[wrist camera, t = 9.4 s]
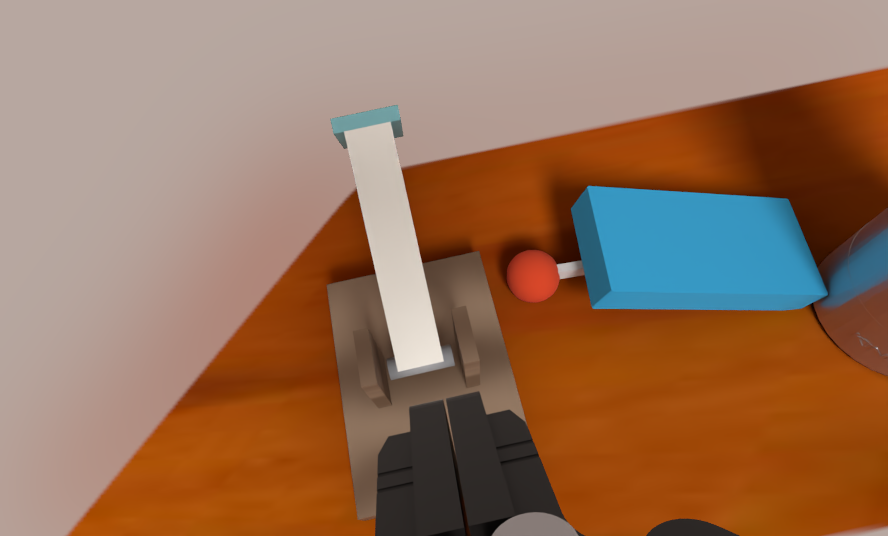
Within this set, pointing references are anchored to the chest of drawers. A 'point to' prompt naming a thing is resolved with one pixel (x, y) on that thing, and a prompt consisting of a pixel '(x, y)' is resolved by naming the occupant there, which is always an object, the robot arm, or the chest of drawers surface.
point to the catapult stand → (387, 401)
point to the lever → (679, 253)
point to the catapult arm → (392, 240)
